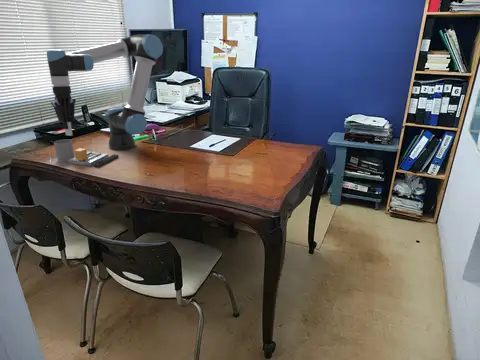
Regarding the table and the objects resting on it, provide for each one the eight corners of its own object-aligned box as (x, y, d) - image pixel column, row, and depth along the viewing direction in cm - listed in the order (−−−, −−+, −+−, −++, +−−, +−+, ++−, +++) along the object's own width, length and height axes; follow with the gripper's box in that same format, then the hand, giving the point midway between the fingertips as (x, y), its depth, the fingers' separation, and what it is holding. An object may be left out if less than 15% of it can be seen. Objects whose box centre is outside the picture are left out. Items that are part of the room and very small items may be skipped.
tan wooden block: (81, 158, 179) (79, 148, 177) (87, 158, 178) (86, 148, 176) (76, 160, 175) (74, 150, 173) (82, 161, 174) (80, 151, 172)
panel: (87, 155, 190) (86, 150, 189) (108, 157, 186) (108, 152, 185) (68, 163, 178) (67, 158, 177) (91, 166, 174) (90, 161, 173)
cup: (56, 162, 179) (52, 144, 175) (59, 157, 186) (55, 139, 182) (73, 161, 181) (70, 143, 177) (76, 156, 188) (72, 138, 184)
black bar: (113, 156, 188) (113, 154, 187) (118, 157, 187) (118, 154, 186) (93, 167, 173) (92, 164, 172) (98, 167, 172) (98, 164, 171)
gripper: (65, 83, 165) (72, 131, 174) (43, 86, 154) (52, 137, 162) (78, 84, 163) (85, 132, 172) (56, 87, 152) (65, 139, 160)
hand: (69, 135), depth 167 cm, fingers closed
